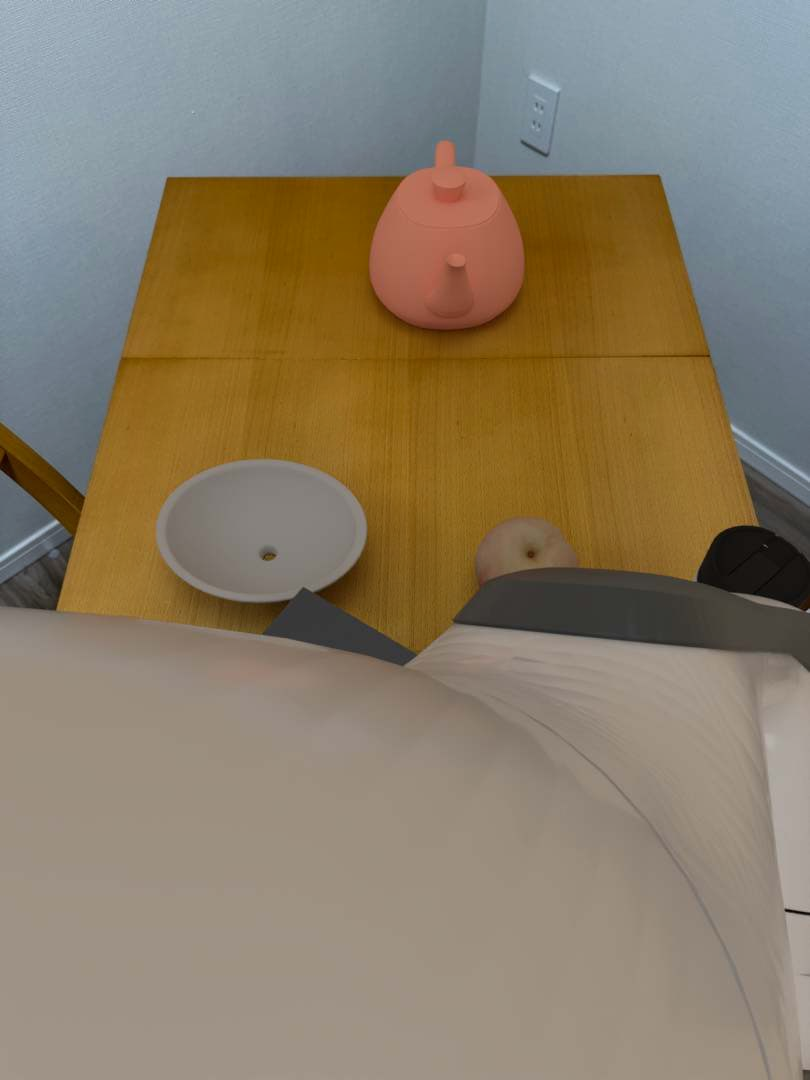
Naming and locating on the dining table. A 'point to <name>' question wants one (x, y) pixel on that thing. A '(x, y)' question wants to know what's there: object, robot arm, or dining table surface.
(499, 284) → the teapot
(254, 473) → the dish
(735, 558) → the travel mug
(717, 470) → the dining table surface
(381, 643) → the cabinet
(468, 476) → the dining table surface
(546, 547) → the fruit
